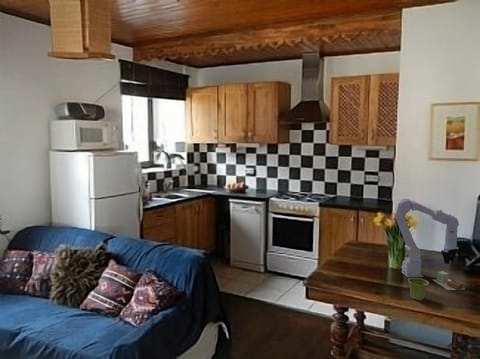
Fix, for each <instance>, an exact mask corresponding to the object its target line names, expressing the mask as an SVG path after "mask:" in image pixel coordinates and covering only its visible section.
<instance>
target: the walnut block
mask: <svg viewBox="0 0 480 359" xmlns="http://www.w3.org/2000/svg"><path fill="white" fill-rule="evenodd" d="M447 286H449V287H451V288H454V289H456V290H455V291H459V289H463V288H464V289H466V283H465V282H462V281H460V280H457V279H452V281H447Z"/></svg>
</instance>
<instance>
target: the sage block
mask: <svg viewBox="0 0 480 359" xmlns="http://www.w3.org/2000/svg"><path fill="white" fill-rule="evenodd" d="M436 273H437V274H436V280H437V281H438V282H441V283H447V281H448V279H449V278H450V277H449V274H450V273H448V272H446V271H444V270H440V271H437V272H436Z"/></svg>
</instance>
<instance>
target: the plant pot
mask: <svg viewBox="0 0 480 359" xmlns="http://www.w3.org/2000/svg"><path fill="white" fill-rule="evenodd" d="M407 281H408V284H409V292H410V293H409V294H410V298H411V299H413V300H416V301H423V300H424V299H425V296H426V292H427V288H428V286H429V285H430V282H429V281H428V280H426V279H423V278H421V277H409V278H408V280H407Z"/></svg>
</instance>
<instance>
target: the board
mask: <svg viewBox="0 0 480 359" xmlns="http://www.w3.org/2000/svg"><path fill="white" fill-rule="evenodd" d="M452 280H453V279H452ZM452 280H451V279H449V278H448V281H452ZM432 281H434V282H435V283H436V284H438V285H439V286H441V287H443V289H445V290H446V291H457V290H456V289H454V288H451V287H449V286H447V283H441V282H438V281H437V279H432ZM459 290H460V291H461V290H466V288H463V289H459ZM459 290H458V291H459Z"/></svg>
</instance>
